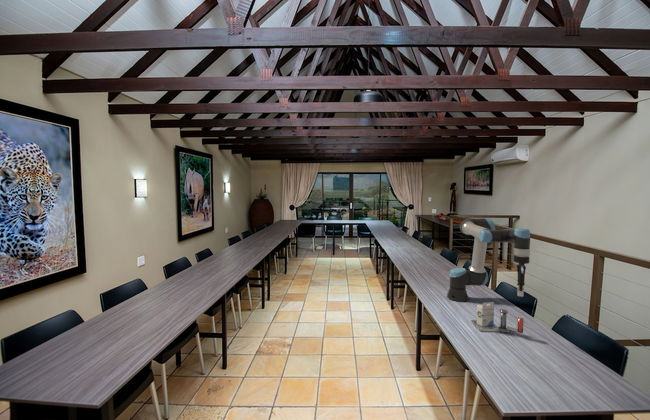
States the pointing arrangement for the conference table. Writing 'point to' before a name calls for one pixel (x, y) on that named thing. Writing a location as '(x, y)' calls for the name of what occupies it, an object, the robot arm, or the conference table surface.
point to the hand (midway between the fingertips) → (520, 295)
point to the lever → (520, 326)
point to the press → (494, 328)
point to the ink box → (485, 314)
